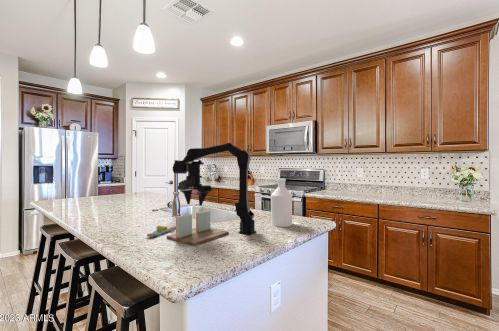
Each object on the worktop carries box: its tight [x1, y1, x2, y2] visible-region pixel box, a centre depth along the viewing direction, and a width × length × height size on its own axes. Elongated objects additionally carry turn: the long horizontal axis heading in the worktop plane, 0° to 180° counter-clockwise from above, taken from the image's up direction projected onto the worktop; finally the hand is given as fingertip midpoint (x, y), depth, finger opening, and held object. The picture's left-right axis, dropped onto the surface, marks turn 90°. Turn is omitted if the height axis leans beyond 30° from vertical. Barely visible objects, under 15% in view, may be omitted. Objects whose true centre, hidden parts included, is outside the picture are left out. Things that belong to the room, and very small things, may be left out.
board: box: [166, 227, 230, 246], centre depth 124 cm, size 18×22×1 cm
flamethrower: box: [146, 225, 176, 238], centre depth 135 cm, size 29×3×10 cm
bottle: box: [270, 178, 293, 228], centre depth 147 cm, size 12×12×25 cm
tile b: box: [175, 213, 193, 238], centre depth 121 cm, size 2×8×9 cm, turn 144°
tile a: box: [195, 209, 211, 232], centre depth 131 cm, size 2×8×9 cm, turn 144°
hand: (194, 204), depth 134 cm, fingers open, 8 cm apart
